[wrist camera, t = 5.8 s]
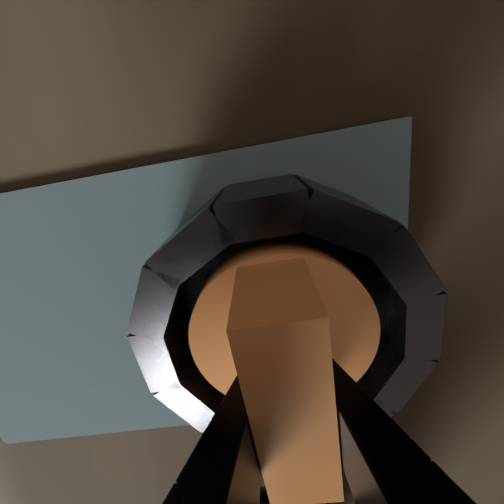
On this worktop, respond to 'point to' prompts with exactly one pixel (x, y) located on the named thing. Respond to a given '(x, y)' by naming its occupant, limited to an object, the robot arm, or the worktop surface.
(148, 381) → the black ring
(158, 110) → the worktop surface
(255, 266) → the rotary knob
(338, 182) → the mat
